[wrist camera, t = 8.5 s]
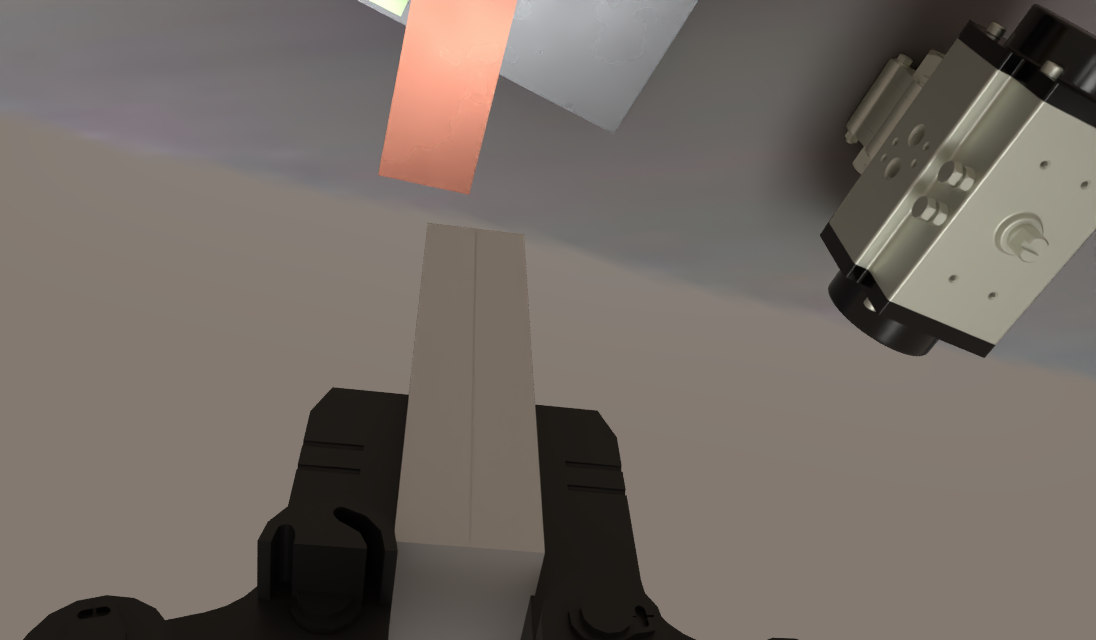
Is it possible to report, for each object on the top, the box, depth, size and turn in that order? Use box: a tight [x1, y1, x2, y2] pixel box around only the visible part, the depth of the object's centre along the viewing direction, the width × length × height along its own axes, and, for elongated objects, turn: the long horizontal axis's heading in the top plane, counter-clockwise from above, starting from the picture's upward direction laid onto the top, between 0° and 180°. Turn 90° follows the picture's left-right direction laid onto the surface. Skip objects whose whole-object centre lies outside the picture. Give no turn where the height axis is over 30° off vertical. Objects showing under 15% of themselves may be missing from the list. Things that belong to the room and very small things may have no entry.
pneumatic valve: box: [820, 4, 1096, 358], centre depth 35 cm, size 6×12×12 cm, turn 154°
